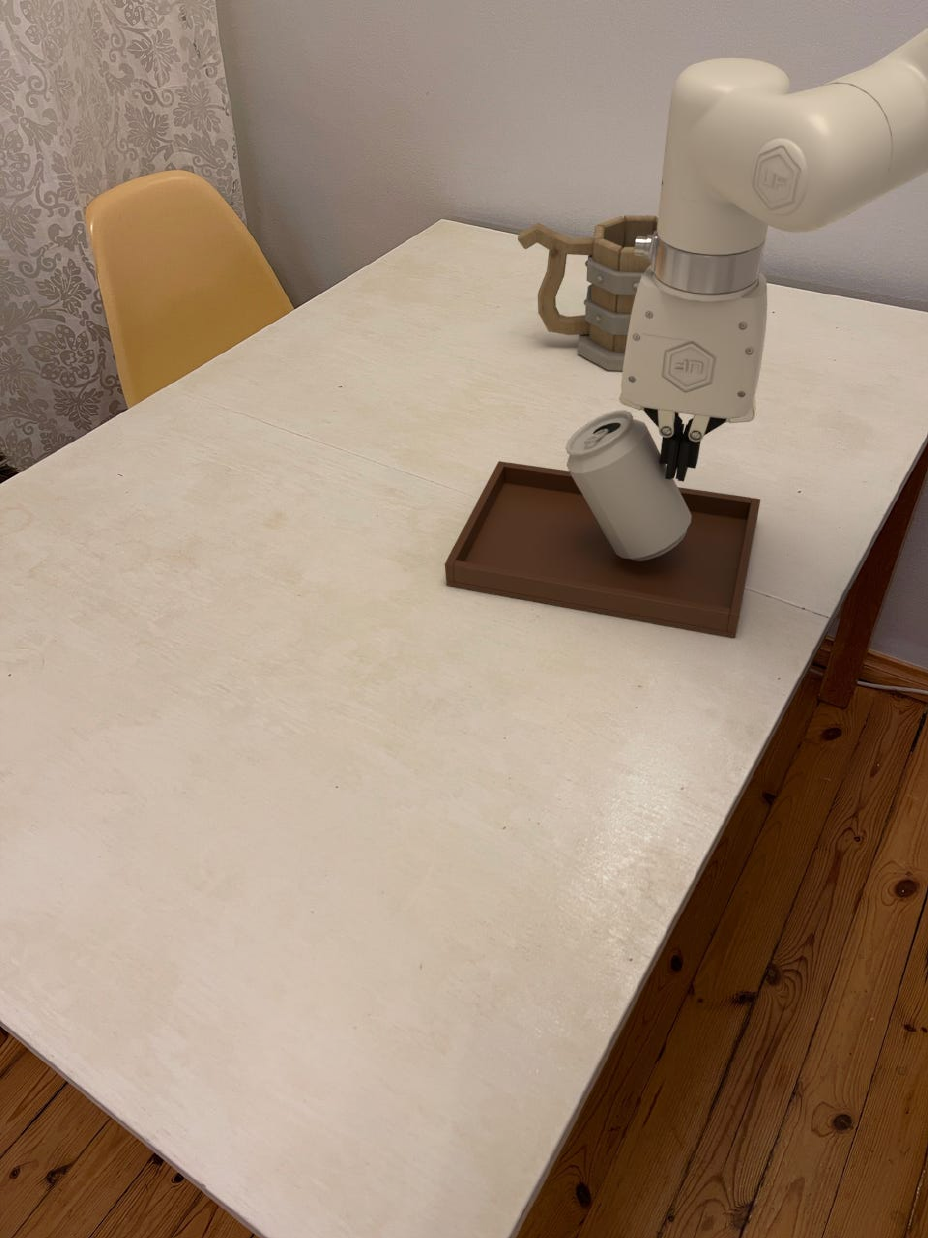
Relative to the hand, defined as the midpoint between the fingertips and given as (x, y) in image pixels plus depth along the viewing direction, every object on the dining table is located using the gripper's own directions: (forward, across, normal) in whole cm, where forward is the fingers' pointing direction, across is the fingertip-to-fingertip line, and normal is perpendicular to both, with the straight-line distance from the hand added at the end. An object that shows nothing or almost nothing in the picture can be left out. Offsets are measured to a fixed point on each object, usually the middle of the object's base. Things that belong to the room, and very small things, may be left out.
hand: (677, 470), depth 82 cm
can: (+8, -1, 0) cm, 8 cm away
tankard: (+11, -15, +39) cm, 43 cm away
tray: (+10, -5, 0) cm, 11 cm away
